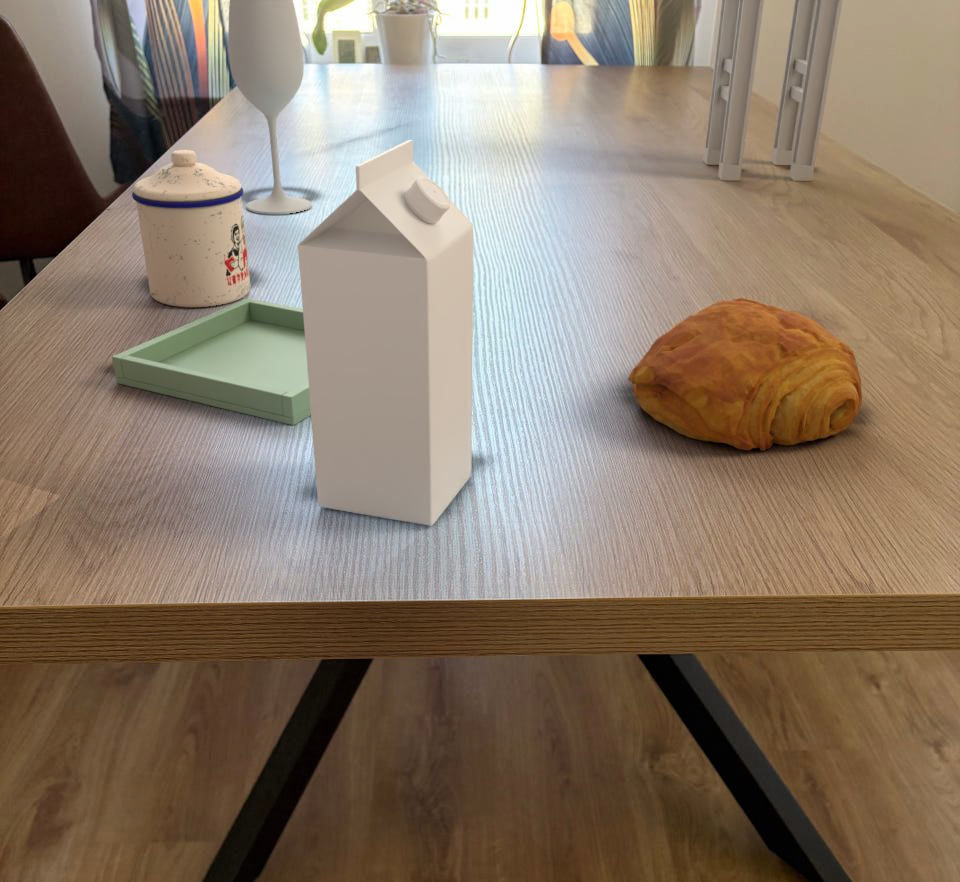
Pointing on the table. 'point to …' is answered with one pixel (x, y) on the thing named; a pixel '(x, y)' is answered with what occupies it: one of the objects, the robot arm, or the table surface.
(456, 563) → the table surface
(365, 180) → the milk carton
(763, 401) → the croissant
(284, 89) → the wineglass
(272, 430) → the table surface
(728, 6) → the grey tall open frame
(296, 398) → the drinks tray
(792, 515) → the table surface
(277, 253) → the table surface
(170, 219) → the teacup with lid
